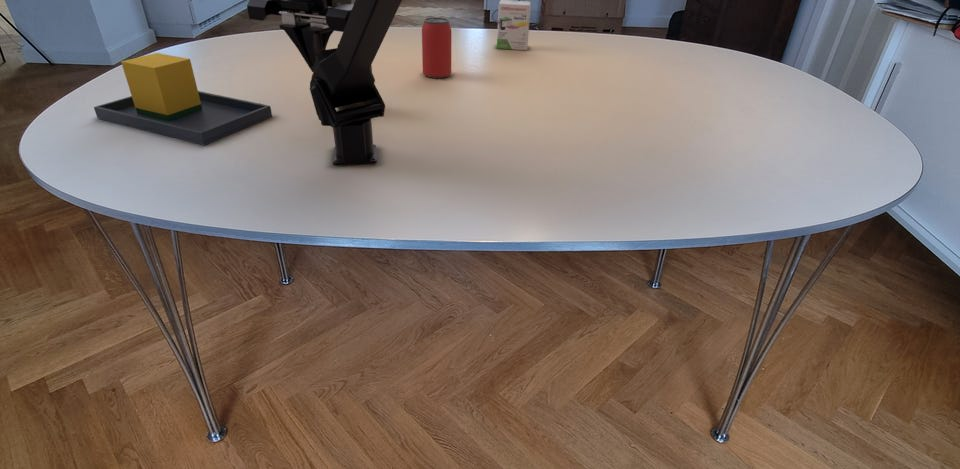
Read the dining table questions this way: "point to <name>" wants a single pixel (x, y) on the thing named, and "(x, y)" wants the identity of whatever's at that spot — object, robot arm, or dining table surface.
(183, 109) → the sponge
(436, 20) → the beer can
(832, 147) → the dining table surface
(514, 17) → the ink box
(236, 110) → the tray
